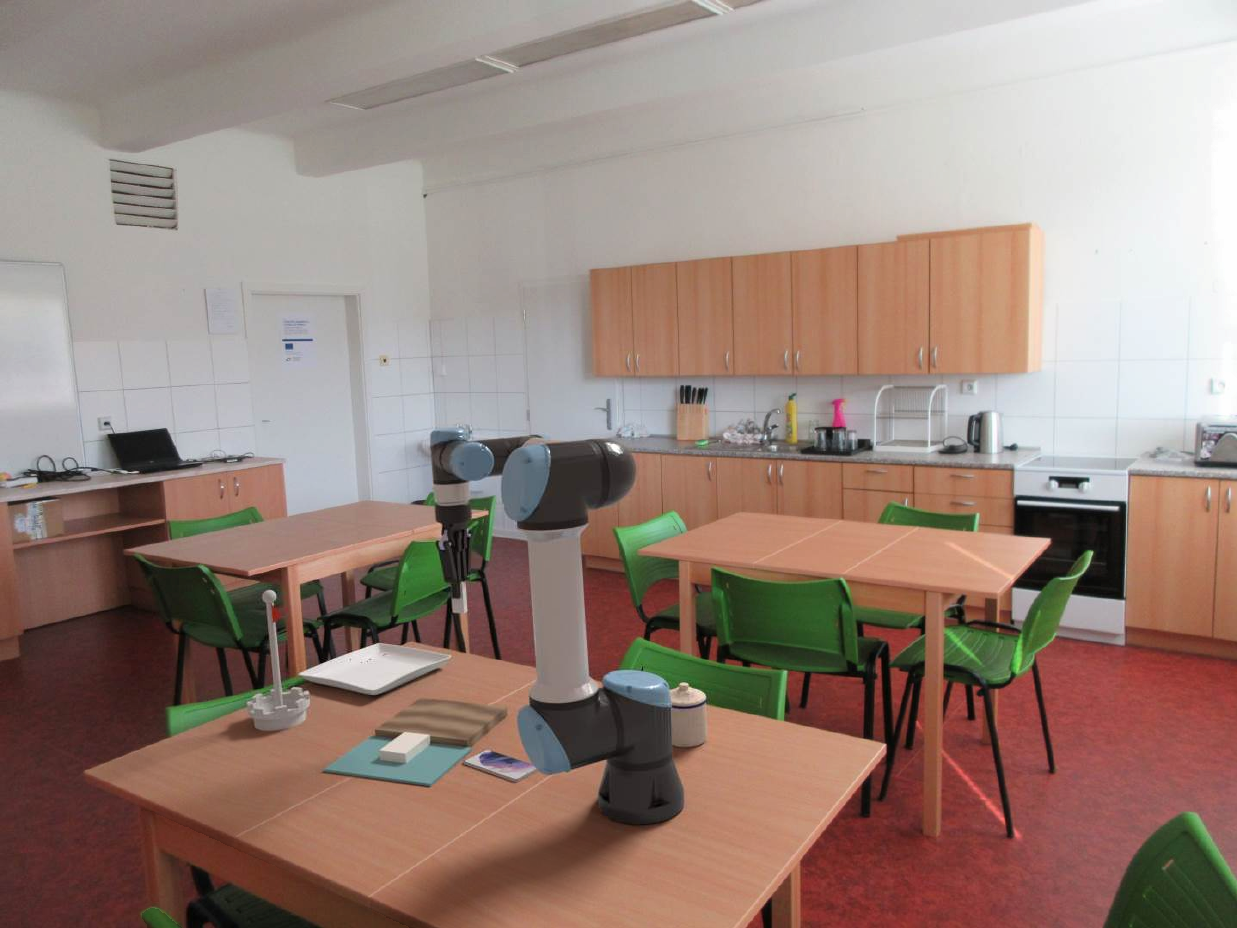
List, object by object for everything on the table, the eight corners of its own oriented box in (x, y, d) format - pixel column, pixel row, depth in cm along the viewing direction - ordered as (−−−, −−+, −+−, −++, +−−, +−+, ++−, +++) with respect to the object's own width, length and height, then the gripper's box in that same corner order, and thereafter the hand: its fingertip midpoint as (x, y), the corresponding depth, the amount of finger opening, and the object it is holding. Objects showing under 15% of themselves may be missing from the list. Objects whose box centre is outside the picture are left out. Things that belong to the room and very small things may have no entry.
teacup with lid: (715, 734, 189) (714, 680, 187) (694, 752, 181) (692, 695, 180) (665, 723, 195) (663, 670, 194) (642, 740, 188) (640, 685, 186)
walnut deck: (467, 749, 187) (467, 740, 186) (375, 738, 194) (374, 729, 194) (507, 715, 203) (507, 706, 203) (421, 706, 211) (420, 697, 211)
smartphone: (486, 748, 186) (541, 766, 177) (487, 752, 186) (542, 770, 177) (460, 761, 180) (516, 780, 171) (461, 765, 180) (516, 784, 171)
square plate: (454, 668, 237) (453, 653, 236) (374, 705, 214) (373, 689, 213) (379, 653, 251) (378, 639, 251) (297, 686, 228) (295, 671, 228)
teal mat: (430, 786, 171) (430, 783, 171) (323, 771, 180) (323, 769, 179) (472, 749, 186) (472, 747, 186) (371, 737, 194) (371, 735, 194)
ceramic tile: (406, 763, 180) (405, 753, 180) (380, 759, 182) (379, 750, 182) (430, 744, 189) (429, 734, 189) (405, 740, 191) (404, 731, 191)
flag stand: (238, 723, 206) (225, 592, 202) (293, 704, 215) (281, 579, 211) (266, 737, 197) (253, 601, 193) (322, 718, 206) (310, 588, 203)
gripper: (451, 497, 200) (458, 603, 203) (421, 507, 187) (429, 620, 190) (482, 497, 198) (489, 604, 200) (454, 508, 185) (461, 621, 188)
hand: (460, 611), depth 195 cm, fingers closed
